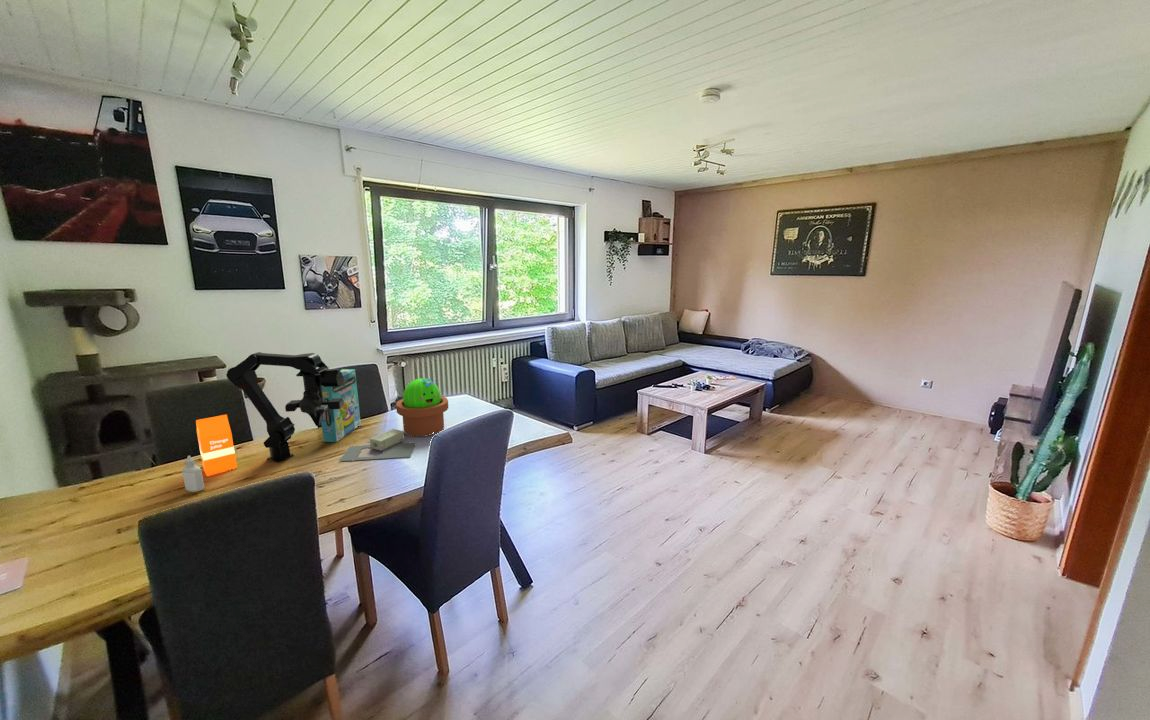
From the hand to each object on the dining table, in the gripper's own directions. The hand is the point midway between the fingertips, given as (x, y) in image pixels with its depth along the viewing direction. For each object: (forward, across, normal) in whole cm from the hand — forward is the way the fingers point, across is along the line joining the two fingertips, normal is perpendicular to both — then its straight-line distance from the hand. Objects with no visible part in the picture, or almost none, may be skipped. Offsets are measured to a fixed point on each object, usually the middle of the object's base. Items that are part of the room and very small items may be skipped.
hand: (318, 425), depth 167 cm
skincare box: (+11, +19, +3) cm, 22 cm away
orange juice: (+13, -33, -5) cm, 35 cm away
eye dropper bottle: (+13, -32, -20) cm, 40 cm away
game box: (+13, 0, +25) cm, 28 cm away
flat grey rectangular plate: (+13, +21, +1) cm, 25 cm away
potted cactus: (+14, +35, +24) cm, 44 cm away
